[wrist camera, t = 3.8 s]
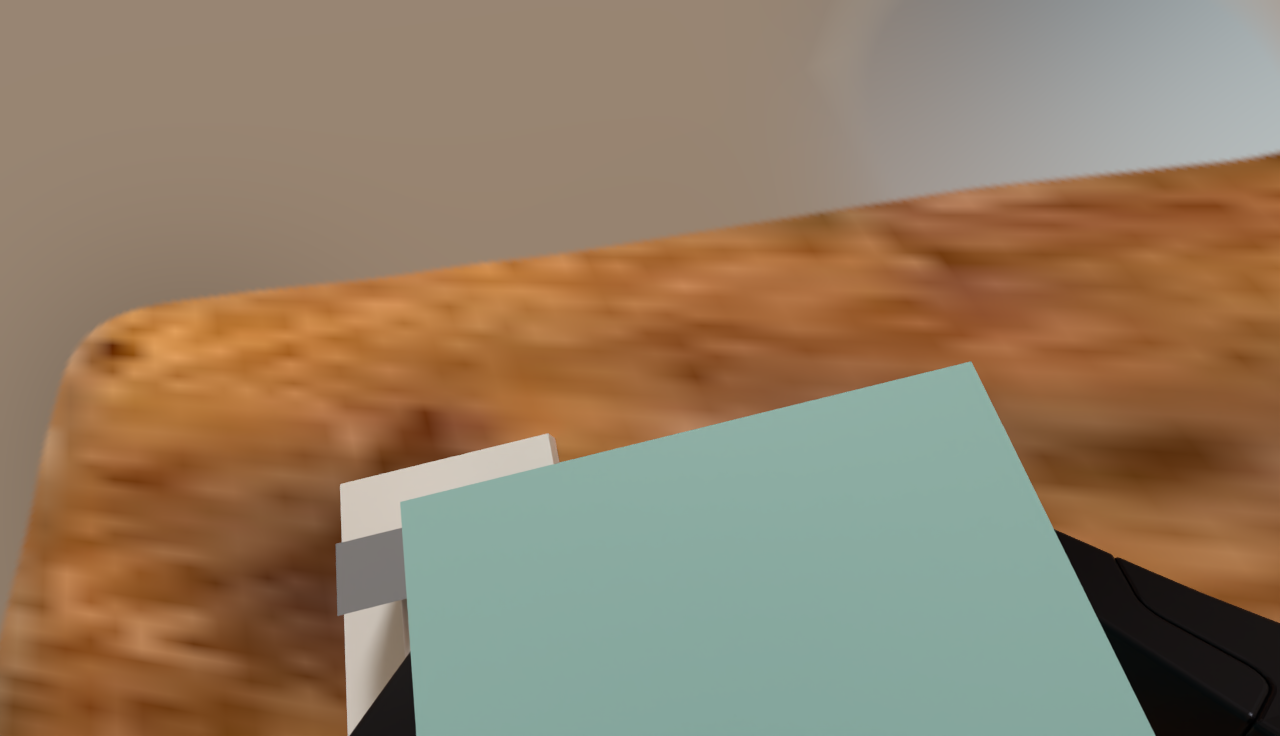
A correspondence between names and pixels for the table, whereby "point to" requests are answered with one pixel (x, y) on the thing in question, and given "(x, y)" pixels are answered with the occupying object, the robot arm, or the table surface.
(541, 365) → the table surface
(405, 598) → the shaft bracket
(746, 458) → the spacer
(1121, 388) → the table surface
